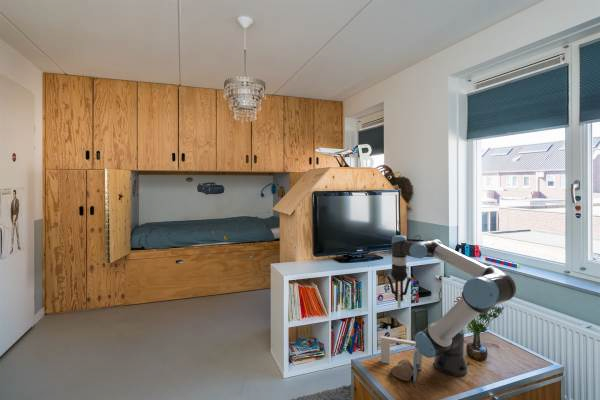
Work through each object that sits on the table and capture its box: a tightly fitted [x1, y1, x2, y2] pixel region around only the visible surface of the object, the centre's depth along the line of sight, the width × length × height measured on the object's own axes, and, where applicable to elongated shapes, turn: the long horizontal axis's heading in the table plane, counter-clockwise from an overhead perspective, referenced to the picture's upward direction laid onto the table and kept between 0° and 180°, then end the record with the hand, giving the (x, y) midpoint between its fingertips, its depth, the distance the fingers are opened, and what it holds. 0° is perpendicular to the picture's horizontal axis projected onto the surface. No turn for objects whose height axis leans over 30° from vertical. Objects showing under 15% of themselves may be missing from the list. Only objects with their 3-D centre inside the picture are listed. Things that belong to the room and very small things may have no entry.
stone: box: [390, 359, 413, 382], centre depth 150 cm, size 12×9×10 cm
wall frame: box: [380, 335, 423, 371], centre depth 159 cm, size 20×2×13 cm, turn 68°
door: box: [412, 346, 420, 383], centre depth 151 cm, size 13×3×12 cm, turn 156°
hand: (399, 306), depth 169 cm, fingers closed
